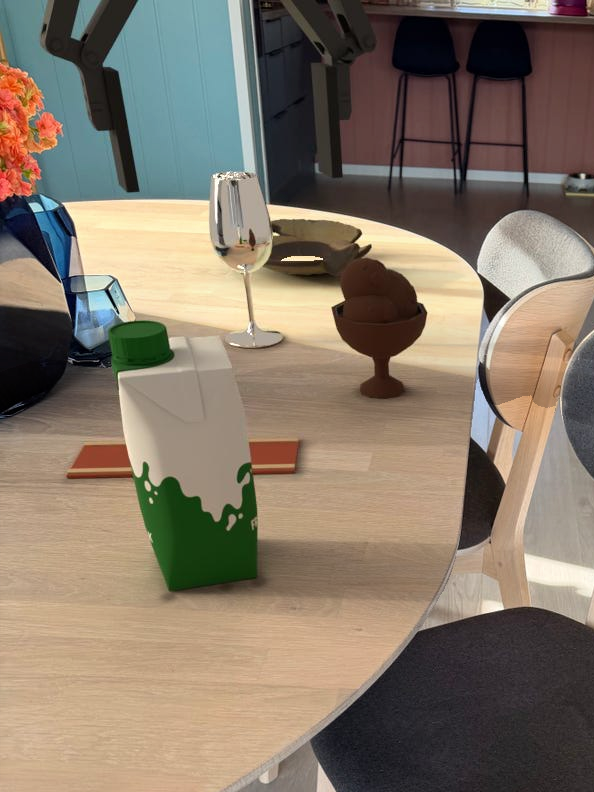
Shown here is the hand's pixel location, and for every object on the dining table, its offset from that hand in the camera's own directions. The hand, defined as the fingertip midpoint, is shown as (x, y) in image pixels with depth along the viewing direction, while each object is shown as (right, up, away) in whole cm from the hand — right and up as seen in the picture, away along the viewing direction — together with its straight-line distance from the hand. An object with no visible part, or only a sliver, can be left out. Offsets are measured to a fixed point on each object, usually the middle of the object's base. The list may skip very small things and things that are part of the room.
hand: (234, 181), depth 62 cm
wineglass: (-14, +10, +63) cm, 66 cm away
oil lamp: (-12, +29, +90) cm, 96 cm away
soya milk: (-7, -24, +17) cm, 30 cm away
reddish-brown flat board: (-14, -12, +33) cm, 38 cm away
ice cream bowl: (+5, -1, +50) cm, 50 cm away
